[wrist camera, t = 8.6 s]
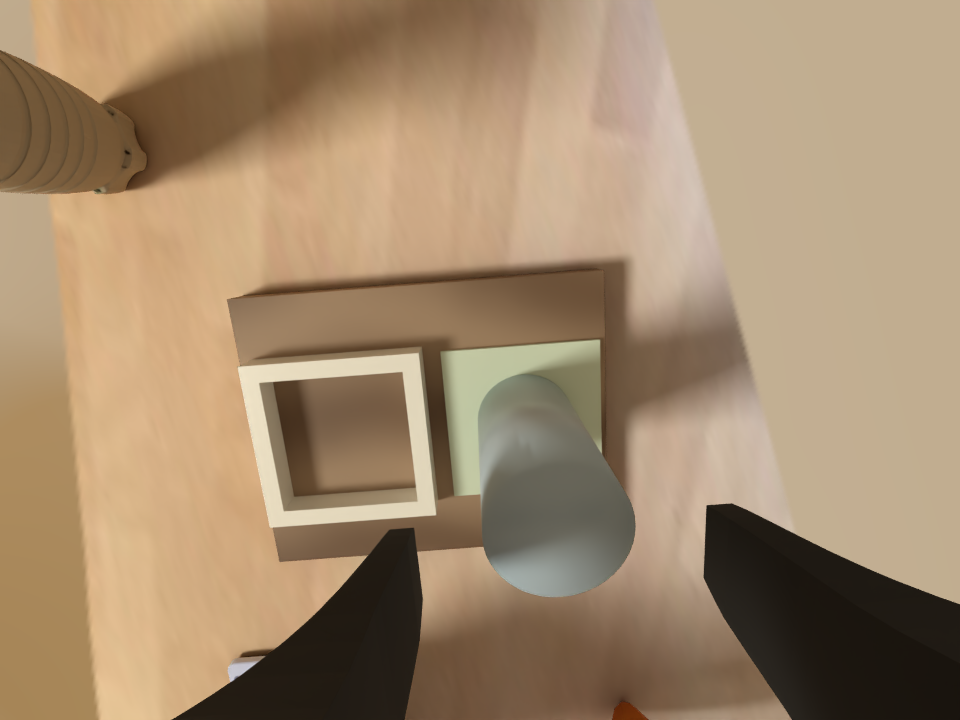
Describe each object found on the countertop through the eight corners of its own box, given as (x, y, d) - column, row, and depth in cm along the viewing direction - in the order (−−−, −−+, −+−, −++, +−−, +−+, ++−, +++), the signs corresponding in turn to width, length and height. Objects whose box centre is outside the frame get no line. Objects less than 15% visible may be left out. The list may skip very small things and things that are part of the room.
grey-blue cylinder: (573, 459, 21) (635, 591, 13) (481, 467, 21) (487, 603, 13) (570, 370, 20) (635, 455, 12) (473, 378, 20) (475, 467, 12)
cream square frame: (438, 500, 21) (436, 515, 20) (281, 512, 21) (270, 527, 20) (421, 346, 20) (418, 353, 18) (251, 359, 20) (237, 366, 19)
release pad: (601, 482, 21) (602, 485, 21) (454, 494, 21) (454, 496, 21) (598, 338, 20) (600, 339, 19) (440, 350, 20) (440, 352, 20)
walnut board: (600, 522, 23) (607, 537, 22) (289, 545, 23) (279, 561, 22) (596, 268, 20) (603, 270, 19) (241, 296, 20) (227, 299, 19)
